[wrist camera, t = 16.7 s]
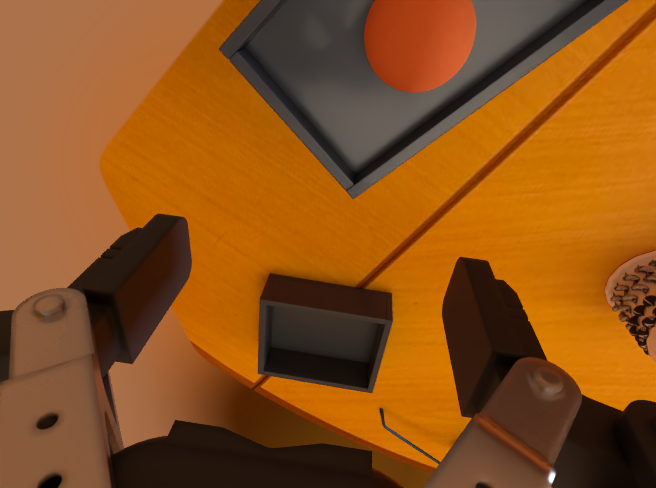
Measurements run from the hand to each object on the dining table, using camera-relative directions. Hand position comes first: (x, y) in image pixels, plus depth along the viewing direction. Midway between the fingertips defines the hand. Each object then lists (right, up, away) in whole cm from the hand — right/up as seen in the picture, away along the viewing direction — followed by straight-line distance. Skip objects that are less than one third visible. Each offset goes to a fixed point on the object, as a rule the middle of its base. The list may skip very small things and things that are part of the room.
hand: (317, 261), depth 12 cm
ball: (+5, +10, +7) cm, 13 cm away
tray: (+4, +12, +9) cm, 16 cm away
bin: (0, -9, +38) cm, 39 cm away
